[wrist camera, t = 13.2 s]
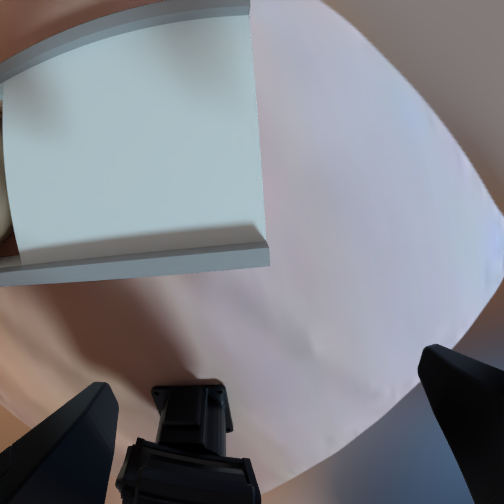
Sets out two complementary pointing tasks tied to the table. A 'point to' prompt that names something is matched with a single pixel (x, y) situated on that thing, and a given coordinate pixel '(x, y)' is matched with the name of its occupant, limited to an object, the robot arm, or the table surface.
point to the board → (135, 147)
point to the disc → (4, 196)
